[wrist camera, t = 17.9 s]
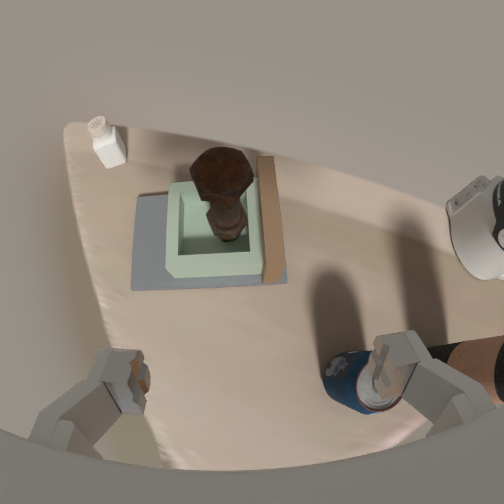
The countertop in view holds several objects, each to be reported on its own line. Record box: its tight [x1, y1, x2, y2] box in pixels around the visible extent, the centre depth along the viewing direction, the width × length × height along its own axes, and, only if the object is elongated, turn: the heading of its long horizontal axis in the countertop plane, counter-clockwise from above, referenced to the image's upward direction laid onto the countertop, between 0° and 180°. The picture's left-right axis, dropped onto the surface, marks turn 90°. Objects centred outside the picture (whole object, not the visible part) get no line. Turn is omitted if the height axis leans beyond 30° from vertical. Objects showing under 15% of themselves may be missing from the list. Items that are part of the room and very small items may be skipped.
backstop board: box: [131, 156, 287, 291], centre depth 39 cm, size 21×14×9 cm, turn 94°
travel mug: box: [427, 335, 504, 404], centre depth 28 cm, size 8×8×20 cm
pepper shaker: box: [87, 116, 127, 169], centre depth 43 cm, size 4×4×10 cm
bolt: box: [189, 147, 254, 242], centre depth 33 cm, size 6×5×15 cm
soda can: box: [323, 351, 402, 415], centre depth 32 cm, size 7×7×12 cm
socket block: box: [165, 177, 264, 278], centre depth 40 cm, size 12×12×5 cm
